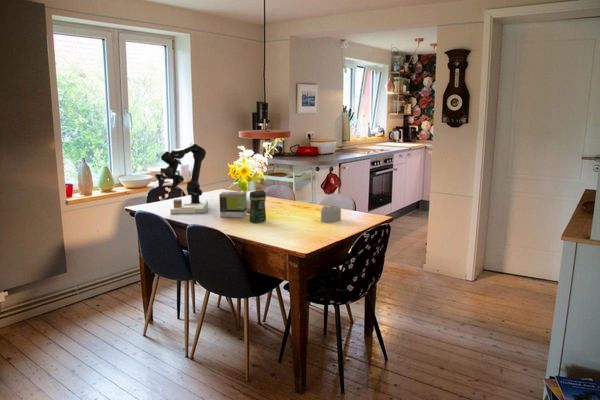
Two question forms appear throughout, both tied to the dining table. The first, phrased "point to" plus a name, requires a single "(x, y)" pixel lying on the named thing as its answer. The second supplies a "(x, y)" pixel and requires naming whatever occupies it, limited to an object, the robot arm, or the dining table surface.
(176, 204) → the walnut block
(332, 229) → the dining table surface
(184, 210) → the trap board
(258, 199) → the coffee jar
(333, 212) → the lumpy-topped squat cylinder
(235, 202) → the retro computer monitor
